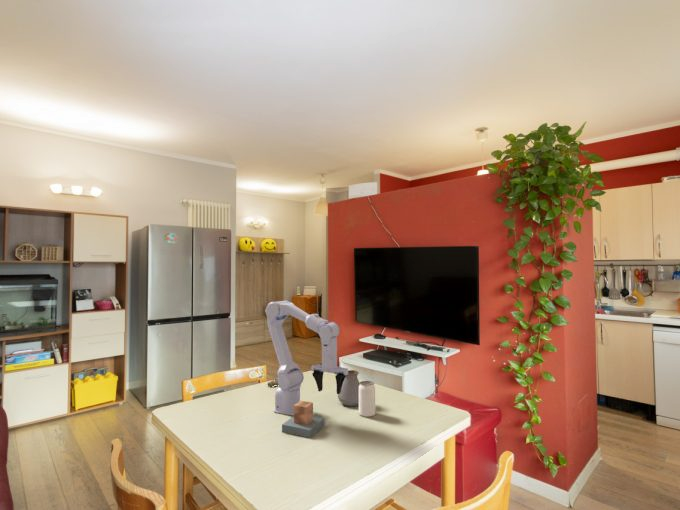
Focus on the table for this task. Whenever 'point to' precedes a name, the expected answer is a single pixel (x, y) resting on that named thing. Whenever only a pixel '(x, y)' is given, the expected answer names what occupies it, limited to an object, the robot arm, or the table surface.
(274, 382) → the mineral rock
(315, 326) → the robot arm
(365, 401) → the can
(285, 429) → the base
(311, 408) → the block
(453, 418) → the table surface
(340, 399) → the coffee pot
